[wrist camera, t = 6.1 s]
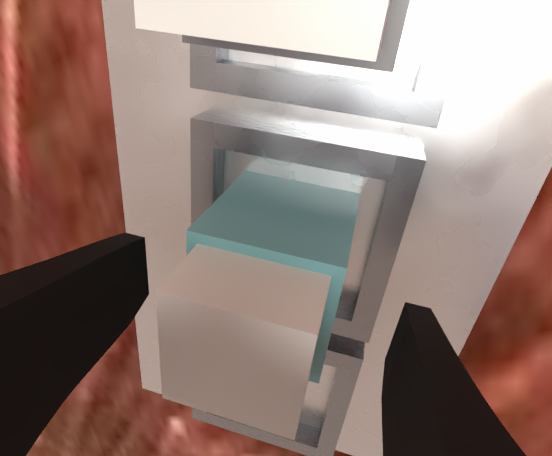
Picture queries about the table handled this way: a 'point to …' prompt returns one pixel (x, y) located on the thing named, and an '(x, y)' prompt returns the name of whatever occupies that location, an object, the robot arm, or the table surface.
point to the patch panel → (346, 174)
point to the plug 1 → (286, 27)
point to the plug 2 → (256, 300)
